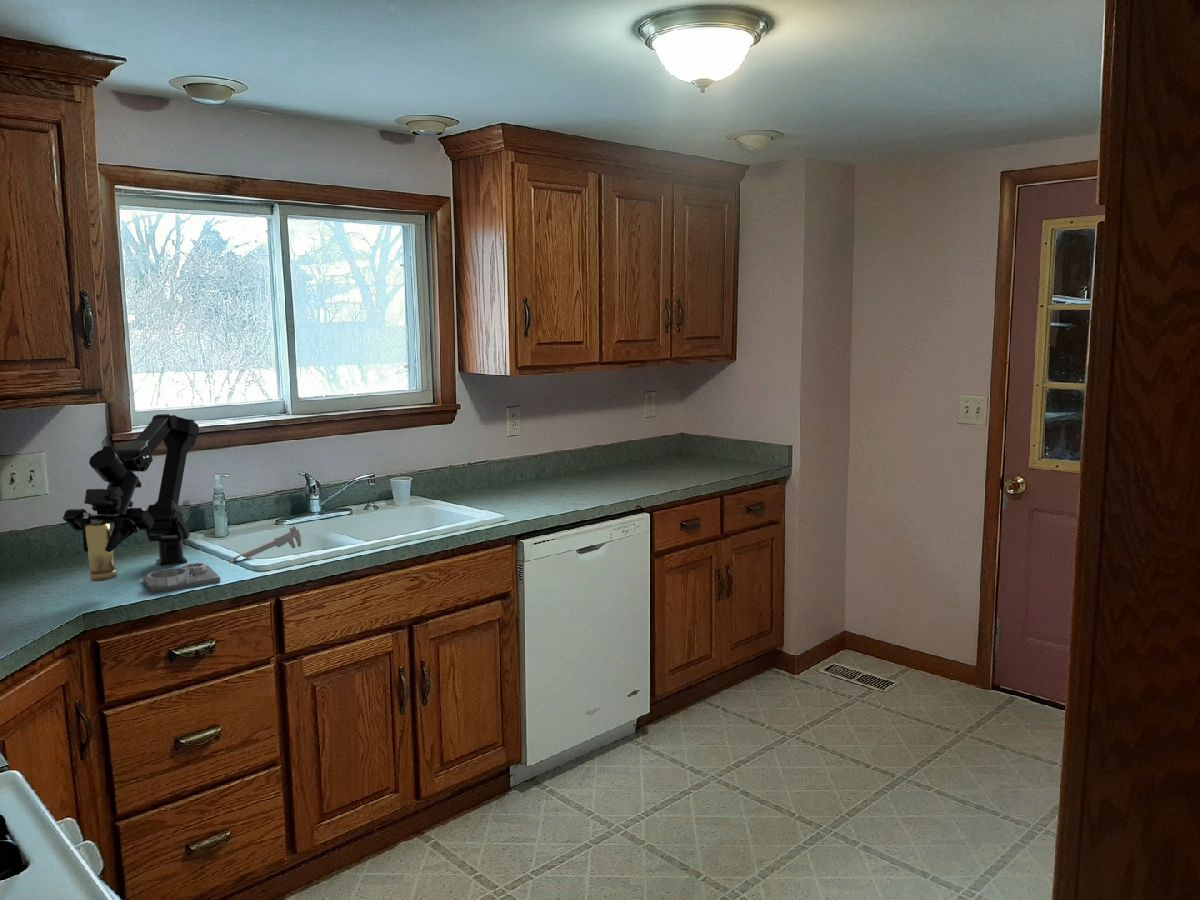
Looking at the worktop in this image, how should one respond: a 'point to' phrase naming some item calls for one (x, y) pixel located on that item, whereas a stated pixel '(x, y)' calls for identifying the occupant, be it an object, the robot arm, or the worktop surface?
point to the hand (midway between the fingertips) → (96, 551)
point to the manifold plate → (189, 583)
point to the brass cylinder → (100, 551)
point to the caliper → (274, 543)
